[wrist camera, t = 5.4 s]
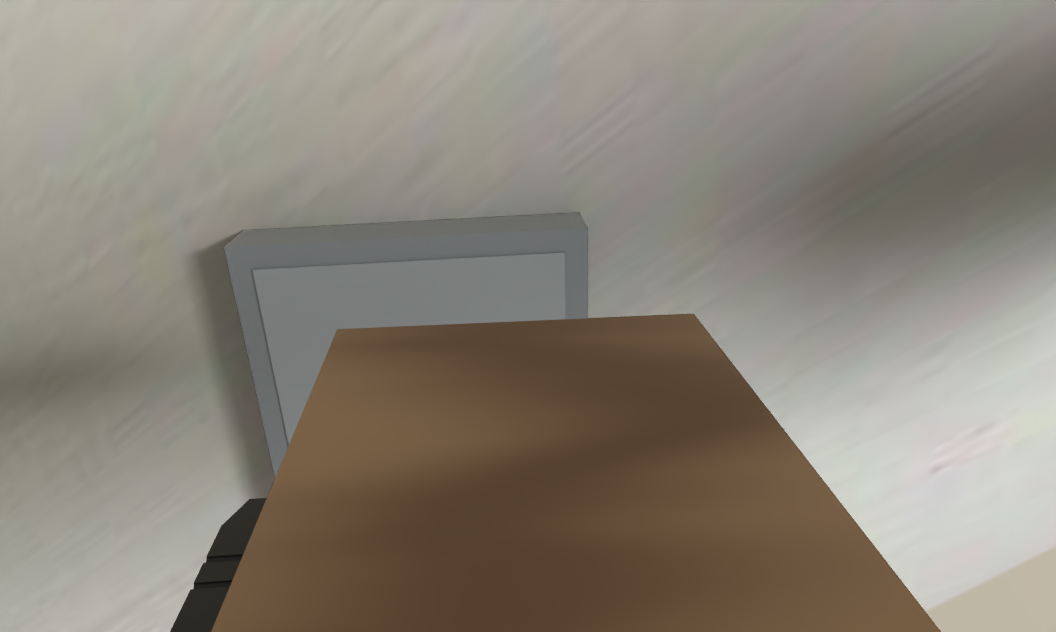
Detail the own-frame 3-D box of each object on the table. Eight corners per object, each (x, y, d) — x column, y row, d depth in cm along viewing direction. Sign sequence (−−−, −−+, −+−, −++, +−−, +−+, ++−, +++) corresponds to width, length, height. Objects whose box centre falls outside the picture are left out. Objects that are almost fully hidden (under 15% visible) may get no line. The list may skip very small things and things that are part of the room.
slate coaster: (579, 212, 25) (588, 228, 23) (581, 483, 30) (588, 515, 28) (242, 230, 24) (222, 248, 22) (300, 503, 29) (287, 537, 27)
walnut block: (693, 313, 10) (989, 692, 4) (668, 581, 12) (846, 1074, 6) (337, 329, 9) (155, 764, 4) (373, 602, 11) (288, 1148, 6)
